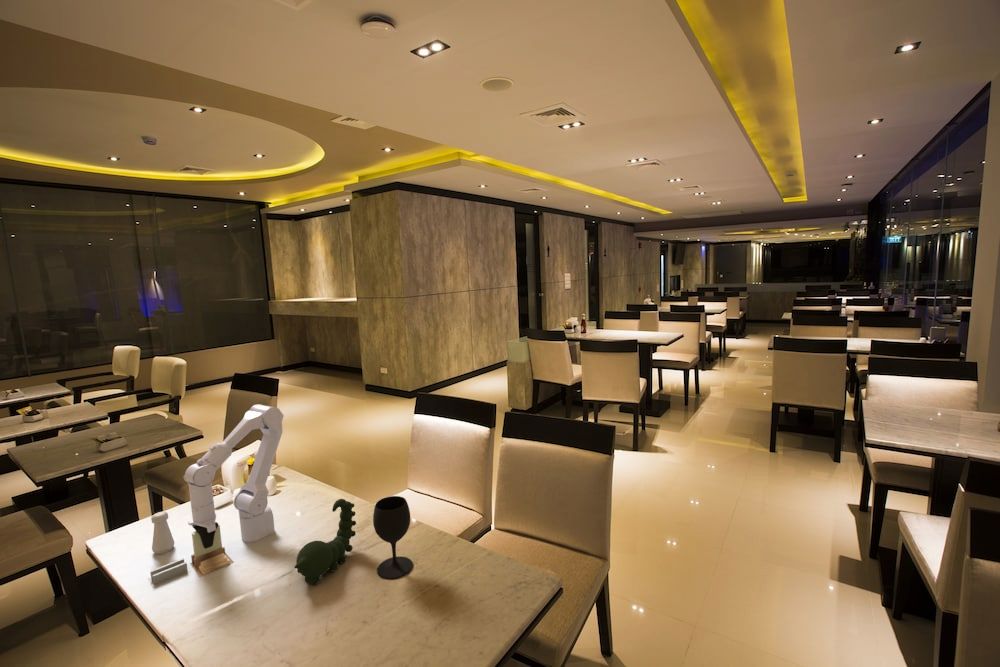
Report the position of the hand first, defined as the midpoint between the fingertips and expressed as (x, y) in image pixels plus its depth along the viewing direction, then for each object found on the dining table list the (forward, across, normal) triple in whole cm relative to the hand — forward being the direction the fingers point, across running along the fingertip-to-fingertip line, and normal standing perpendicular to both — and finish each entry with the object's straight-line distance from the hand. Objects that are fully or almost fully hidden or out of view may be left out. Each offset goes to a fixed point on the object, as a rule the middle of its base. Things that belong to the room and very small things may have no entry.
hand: (207, 545), depth 140 cm
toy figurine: (+5, +32, +22) cm, 39 cm away
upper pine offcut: (+3, +6, 0) cm, 6 cm away
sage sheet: (+4, 0, 0) cm, 4 cm away
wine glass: (+5, +47, +35) cm, 59 cm away
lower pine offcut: (+4, +6, 0) cm, 7 cm away
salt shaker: (+5, -17, -8) cm, 20 cm away
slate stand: (+5, 0, -10) cm, 11 cm away
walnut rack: (+5, +3, 0) cm, 6 cm away
